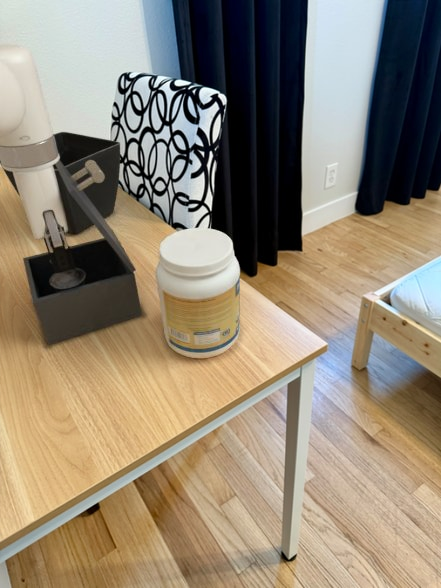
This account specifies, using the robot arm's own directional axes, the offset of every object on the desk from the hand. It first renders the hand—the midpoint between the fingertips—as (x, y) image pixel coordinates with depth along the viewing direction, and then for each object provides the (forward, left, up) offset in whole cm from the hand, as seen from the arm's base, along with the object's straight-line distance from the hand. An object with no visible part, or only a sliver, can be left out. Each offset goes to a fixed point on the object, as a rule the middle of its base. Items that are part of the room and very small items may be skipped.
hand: (62, 262), depth 69 cm
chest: (+2, 0, -10) cm, 10 cm away
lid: (+6, 0, +7) cm, 9 cm away
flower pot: (+7, +35, -10) cm, 37 cm away
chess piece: (0, 0, -7) cm, 7 cm away
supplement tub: (+17, -16, -10) cm, 26 cm away
